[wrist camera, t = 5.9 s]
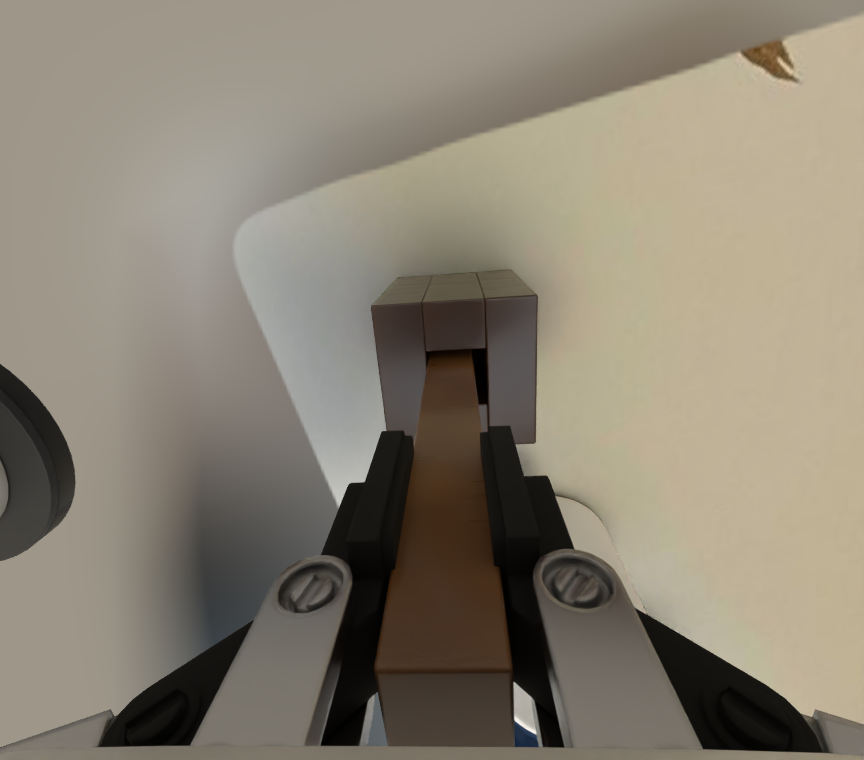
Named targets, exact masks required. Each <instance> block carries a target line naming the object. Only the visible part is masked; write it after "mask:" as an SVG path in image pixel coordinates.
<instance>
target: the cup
mask: <svg viewBox="0 0 864 760" xmlns="http://www.w3.org/2000/svg"><path fill="white" fill-rule="evenodd" d="M556 499H557V502H558V505H559V507H560V510H561V513H562V516H563V518H564V521H565V524H566V527H567V529H568V532H569V535H570V538H571V540H572V543H573V546H574V549H575V550H581V551H584V552H588V553H591V554H593V555H595V556H597V557H599V558H601V559H603V560H604V561H605V562H606V563H608V564H609V565H610V566H611V567H612V568H613V569H614V570H615V572H616V573H617V574H618V576H619V577H620V579H621V581H622V583H623V585H624V587H625V589H626V591H627V593H628V595H629V597H630V599H631V602H632V604H633V606H634V607H635V608H636V609H638V610H640V611H641V612H643V613H645V614H646V612H645V610H644V607H643V605H642V603H641V601H640V599H639V597H638V595H637V593H636V591H635V589H634V586H633V584H632V582H631V580H630V578H629V576H628V574H627V572H626V570H625V568H624V565H623V563H622V561H621V559H620V557H619V555H618V553H617V551H616V549H615V547H614V544H613V542H612V540H611V538H610V536H609V534H608V532H607V530H606V529H605V527H604V525H603V524H602V522H601V521H600V520H599V518H598V517H597V516H596V515H595V514H594V513H593V512H592V511H591V510H590V509H588V508H587V507H585V506H584V505H582V504H580V503H578V502H576V501H574V500H571V499H567V498H563V497H558V496H556ZM514 720H515V721H516V722H517V723H518V724H519V725H521V726H522V727H524V728H525V729H527V730H528V731H530V732H532V733H534V734H536V728H535V722H534V717H533V711H532V697H531V696H529V695H528V694H527V693H526V692H525V691H524V690H523V689H522V688H520V687H519V686H518V685H517V684H516V683H515V682H514ZM536 735H537V734H536Z"/></svg>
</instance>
